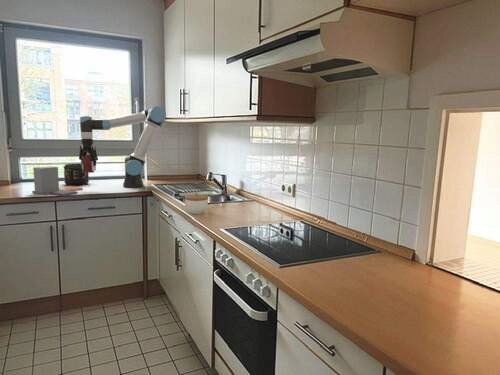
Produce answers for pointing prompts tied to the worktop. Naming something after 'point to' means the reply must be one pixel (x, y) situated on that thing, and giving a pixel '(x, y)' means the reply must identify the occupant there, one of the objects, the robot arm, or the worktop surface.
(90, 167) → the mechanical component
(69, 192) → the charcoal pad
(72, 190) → the terracotta pad
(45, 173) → the grey unit
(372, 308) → the worktop surface
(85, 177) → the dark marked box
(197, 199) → the lidded bowl
